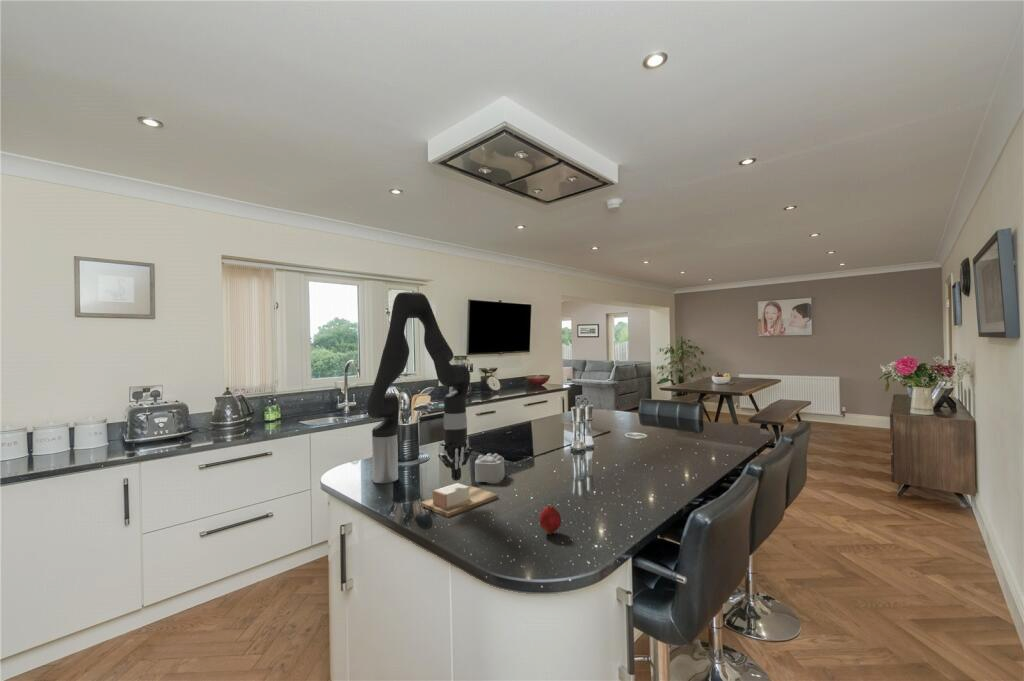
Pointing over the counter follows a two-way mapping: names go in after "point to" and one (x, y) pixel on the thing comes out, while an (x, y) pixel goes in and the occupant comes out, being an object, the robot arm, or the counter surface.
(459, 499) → the block
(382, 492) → the counter surface
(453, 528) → the counter surface
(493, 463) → the paw stamp
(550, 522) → the red strawberry
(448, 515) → the board
